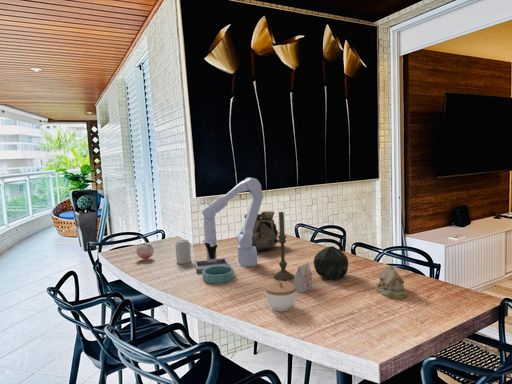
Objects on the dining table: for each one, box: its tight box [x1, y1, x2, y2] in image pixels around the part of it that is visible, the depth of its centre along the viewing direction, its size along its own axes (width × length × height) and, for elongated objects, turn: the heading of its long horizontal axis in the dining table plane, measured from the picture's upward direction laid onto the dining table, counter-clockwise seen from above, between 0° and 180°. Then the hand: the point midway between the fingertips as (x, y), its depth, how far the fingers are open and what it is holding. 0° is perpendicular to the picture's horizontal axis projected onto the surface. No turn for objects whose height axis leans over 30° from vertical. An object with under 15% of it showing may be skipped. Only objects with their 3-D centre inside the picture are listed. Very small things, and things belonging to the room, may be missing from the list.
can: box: [175, 239, 192, 265], centre depth 188 cm, size 8×8×12 cm
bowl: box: [201, 266, 235, 285], centre depth 162 cm, size 14×14×4 cm
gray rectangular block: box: [205, 248, 218, 263], centre depth 176 cm, size 4×4×6 cm
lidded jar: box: [265, 281, 297, 312], centre depth 127 cm, size 11×11×9 cm
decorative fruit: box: [135, 241, 154, 260], centre depth 198 cm, size 9×8×10 cm
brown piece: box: [244, 210, 279, 251], centre depth 211 cm, size 25×24×22 cm
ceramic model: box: [375, 265, 408, 299], centre depth 137 cm, size 14×11×10 cm
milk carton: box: [294, 262, 313, 294], centre depth 143 cm, size 4×7×10 cm, turn 138°
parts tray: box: [194, 257, 231, 274], centre depth 177 cm, size 16×14×2 cm
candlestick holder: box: [273, 210, 295, 281], centre depth 158 cm, size 9×9×30 cm
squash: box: [313, 245, 349, 281], centre depth 157 cm, size 14×15×15 cm
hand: (211, 257), depth 177 cm, fingers closed on gray rectangular block, 4 cm apart
